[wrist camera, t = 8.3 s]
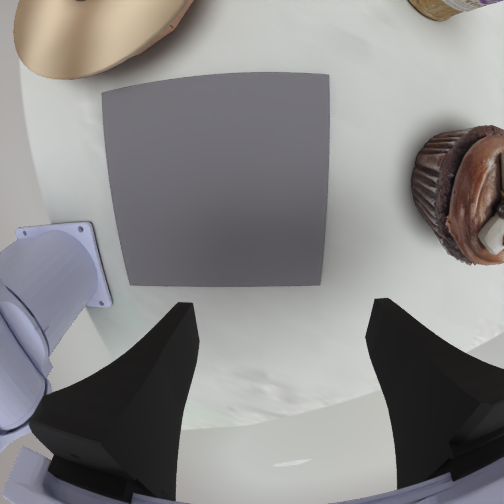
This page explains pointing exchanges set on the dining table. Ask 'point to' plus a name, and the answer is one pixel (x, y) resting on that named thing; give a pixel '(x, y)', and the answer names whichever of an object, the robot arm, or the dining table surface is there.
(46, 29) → the lid
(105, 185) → the dining table surface
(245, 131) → the mat
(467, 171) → the cupcake
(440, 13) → the sprinkles bottle
